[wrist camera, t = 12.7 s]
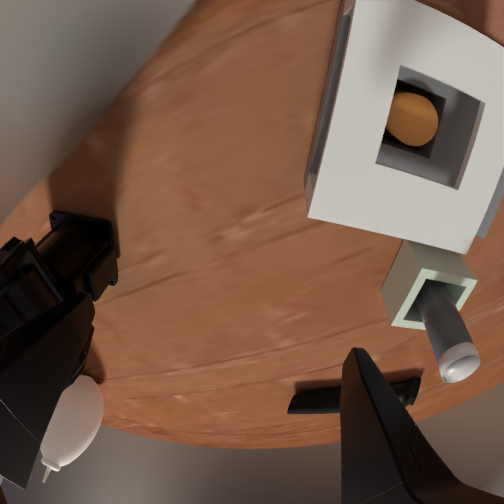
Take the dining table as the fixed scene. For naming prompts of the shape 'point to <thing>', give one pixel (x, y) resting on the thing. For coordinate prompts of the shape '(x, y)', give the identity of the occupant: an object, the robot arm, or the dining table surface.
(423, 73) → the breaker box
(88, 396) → the sauce bottle
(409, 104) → the button
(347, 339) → the dining table surface
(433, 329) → the flashlight
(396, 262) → the pen stand
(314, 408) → the electric trimmer
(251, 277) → the dining table surface
